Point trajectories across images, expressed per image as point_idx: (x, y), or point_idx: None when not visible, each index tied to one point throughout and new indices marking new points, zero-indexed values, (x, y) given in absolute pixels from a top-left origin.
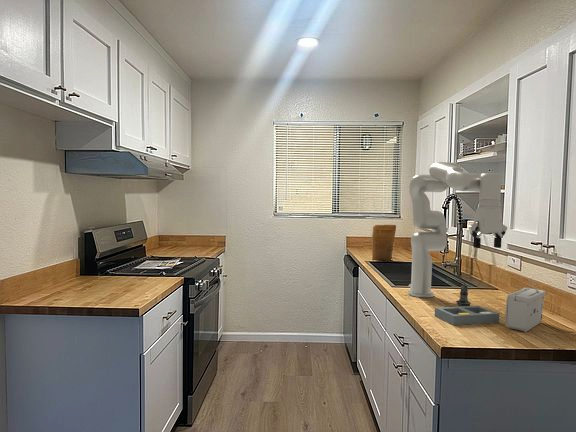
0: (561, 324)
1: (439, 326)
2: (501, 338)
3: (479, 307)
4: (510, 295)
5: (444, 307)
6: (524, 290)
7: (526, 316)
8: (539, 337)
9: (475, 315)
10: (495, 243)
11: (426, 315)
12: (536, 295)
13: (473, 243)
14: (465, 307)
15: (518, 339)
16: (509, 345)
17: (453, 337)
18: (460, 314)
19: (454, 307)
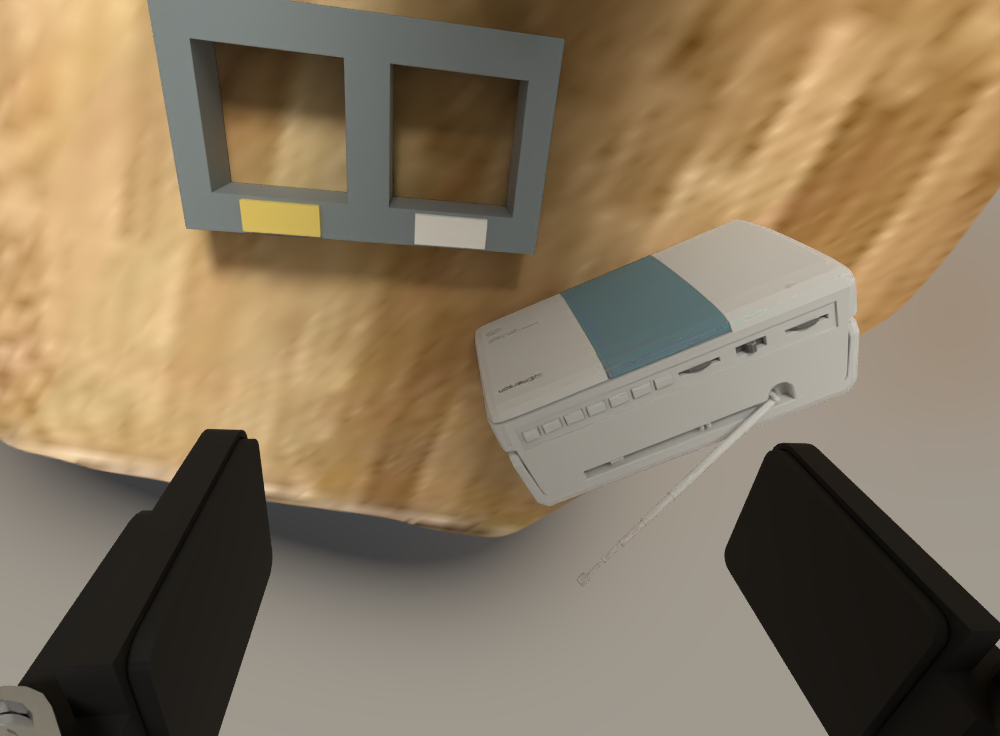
0: None
1: (100, 211)
2: (336, 421)
3: (528, 92)
4: (496, 433)
5: (237, 4)
6: (740, 345)
7: (522, 432)
8: None
9: (356, 240)
10: (804, 537)
11: None
12: (659, 463)
13: (119, 539)
14: (420, 57)
15: (402, 442)
16: (307, 481)
17: (99, 370)
18: (242, 225)
19: (327, 31)
